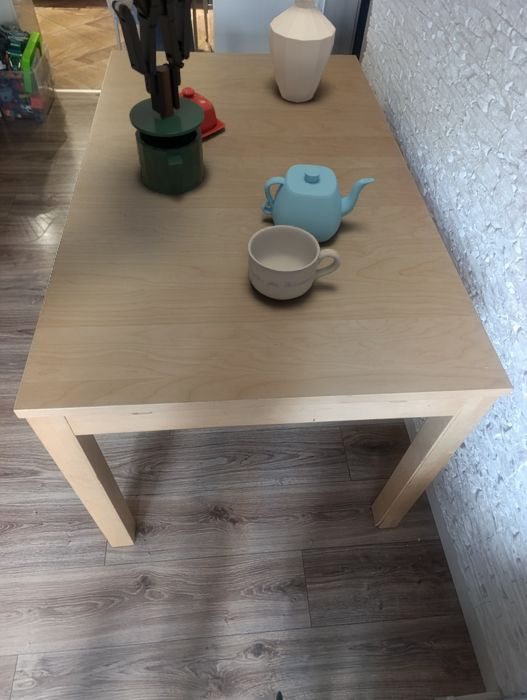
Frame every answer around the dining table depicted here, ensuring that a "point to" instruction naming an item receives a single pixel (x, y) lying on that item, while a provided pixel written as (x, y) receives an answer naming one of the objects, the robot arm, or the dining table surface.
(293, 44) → the vase
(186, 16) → the robot arm
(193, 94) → the butter dish
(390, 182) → the dining table surface
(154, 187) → the pot
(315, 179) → the teapot
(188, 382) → the dining table surface
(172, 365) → the dining table surface
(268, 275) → the teacup
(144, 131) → the pot lid
